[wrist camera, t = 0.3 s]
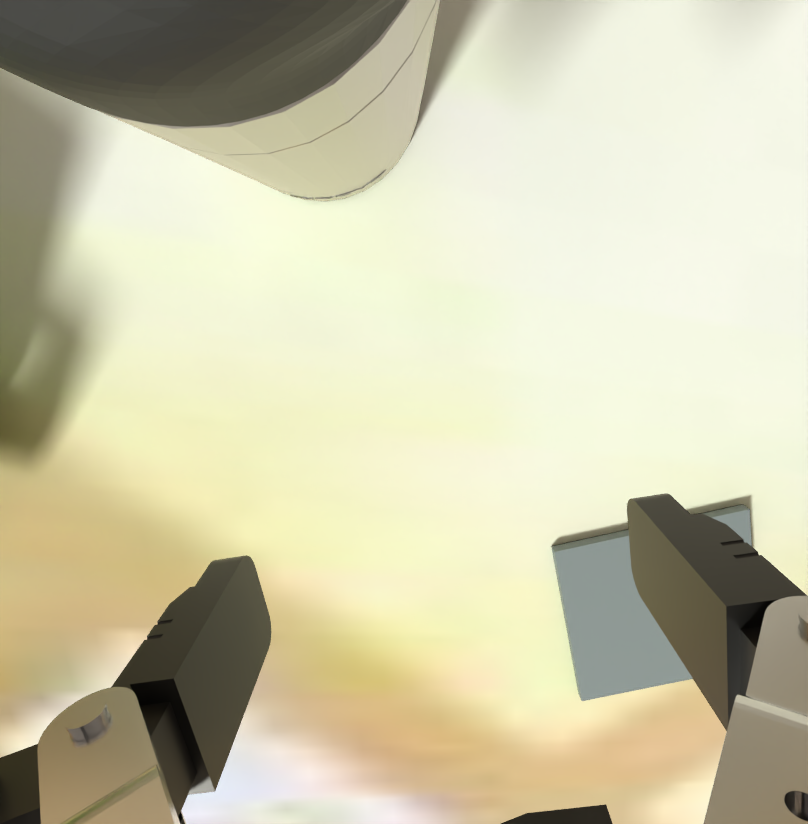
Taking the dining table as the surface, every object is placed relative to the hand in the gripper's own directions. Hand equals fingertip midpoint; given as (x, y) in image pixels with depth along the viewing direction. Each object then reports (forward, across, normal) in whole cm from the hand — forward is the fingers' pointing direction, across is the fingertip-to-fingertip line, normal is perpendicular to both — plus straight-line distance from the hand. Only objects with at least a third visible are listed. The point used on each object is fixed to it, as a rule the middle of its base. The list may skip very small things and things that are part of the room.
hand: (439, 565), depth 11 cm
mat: (+18, -11, +16) cm, 27 cm away
